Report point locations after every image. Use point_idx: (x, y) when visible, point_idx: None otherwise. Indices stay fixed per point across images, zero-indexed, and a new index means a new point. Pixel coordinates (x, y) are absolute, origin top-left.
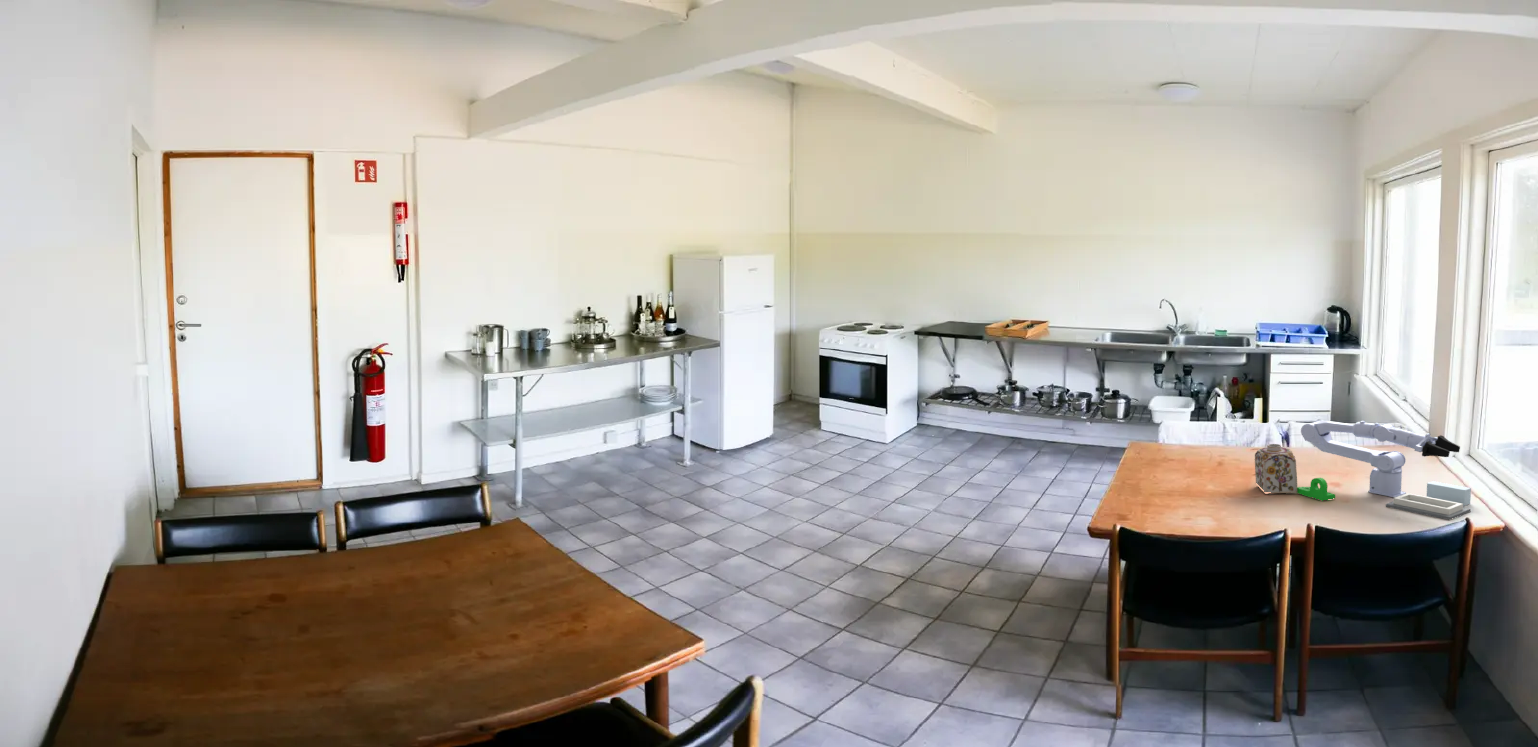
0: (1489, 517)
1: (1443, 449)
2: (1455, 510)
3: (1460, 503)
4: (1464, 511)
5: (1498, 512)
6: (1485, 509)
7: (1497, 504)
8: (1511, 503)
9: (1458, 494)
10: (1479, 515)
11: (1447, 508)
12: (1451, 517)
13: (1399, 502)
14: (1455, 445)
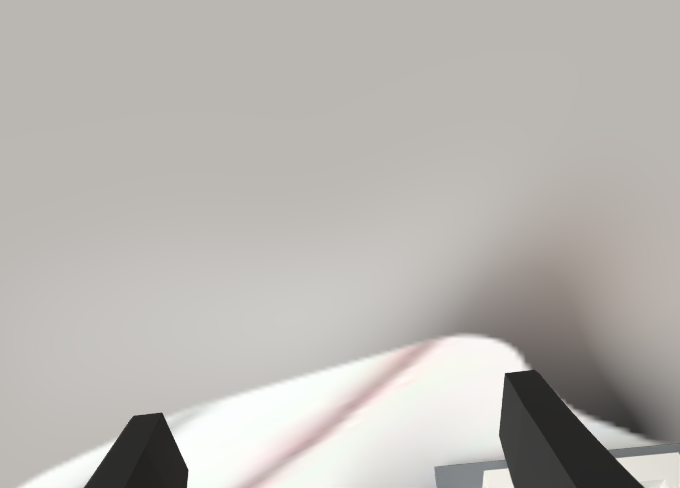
0: (451, 371)
1: (584, 428)
2: None
3: (493, 483)
4: None
5: (336, 391)
6: (329, 452)
7: (189, 466)
8: None
9: None
10: (460, 412)
11: (674, 468)
12: (675, 446)
13: None
14: (141, 462)
